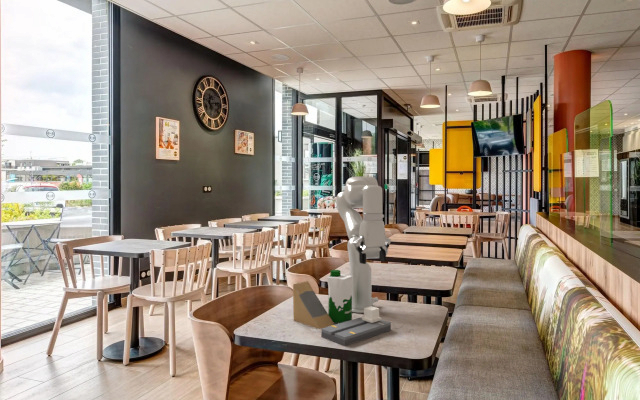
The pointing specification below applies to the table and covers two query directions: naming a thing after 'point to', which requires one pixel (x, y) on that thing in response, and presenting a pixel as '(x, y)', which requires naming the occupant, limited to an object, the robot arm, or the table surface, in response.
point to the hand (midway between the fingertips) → (372, 262)
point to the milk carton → (340, 296)
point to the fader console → (354, 331)
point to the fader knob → (371, 314)
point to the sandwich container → (309, 307)
